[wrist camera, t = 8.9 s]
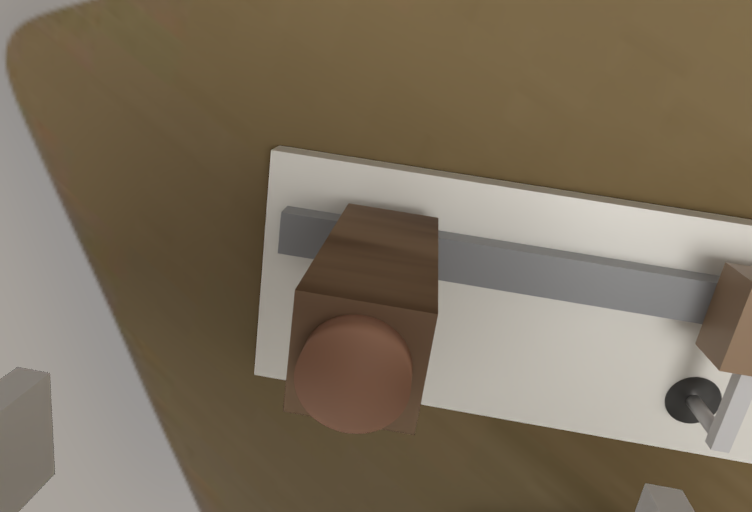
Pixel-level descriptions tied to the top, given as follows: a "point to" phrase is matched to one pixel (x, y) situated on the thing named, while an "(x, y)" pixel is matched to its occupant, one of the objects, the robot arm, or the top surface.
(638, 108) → the top surface
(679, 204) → the top surface
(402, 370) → the sliding handle
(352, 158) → the board
